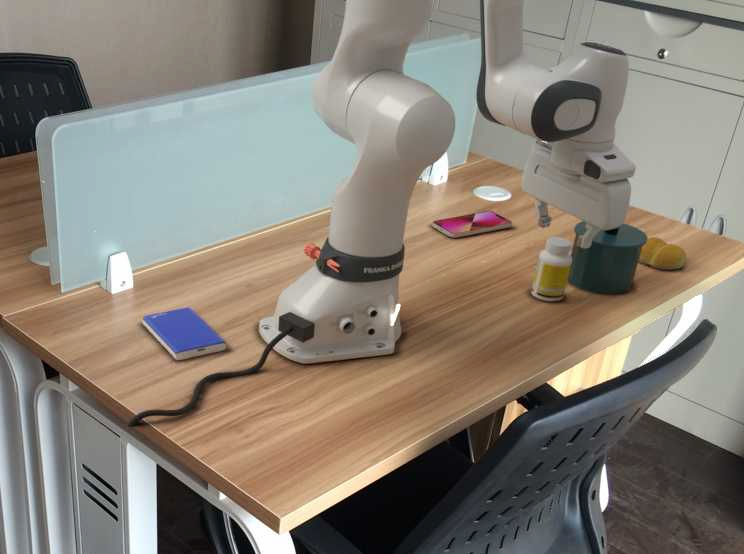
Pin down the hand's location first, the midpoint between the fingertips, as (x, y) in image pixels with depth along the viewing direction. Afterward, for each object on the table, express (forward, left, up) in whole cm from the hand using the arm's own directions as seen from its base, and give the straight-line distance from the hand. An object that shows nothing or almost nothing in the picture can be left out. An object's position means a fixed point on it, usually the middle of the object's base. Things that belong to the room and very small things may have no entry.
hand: (562, 236), depth 156 cm
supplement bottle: (0, 0, -11) cm, 11 cm away
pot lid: (+13, +1, -2) cm, 13 cm away
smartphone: (+8, +30, -11) cm, 33 cm away
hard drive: (-63, +11, -11) cm, 65 cm away
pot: (+13, +1, -11) cm, 17 cm away
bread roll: (+30, +3, -11) cm, 32 cm away
